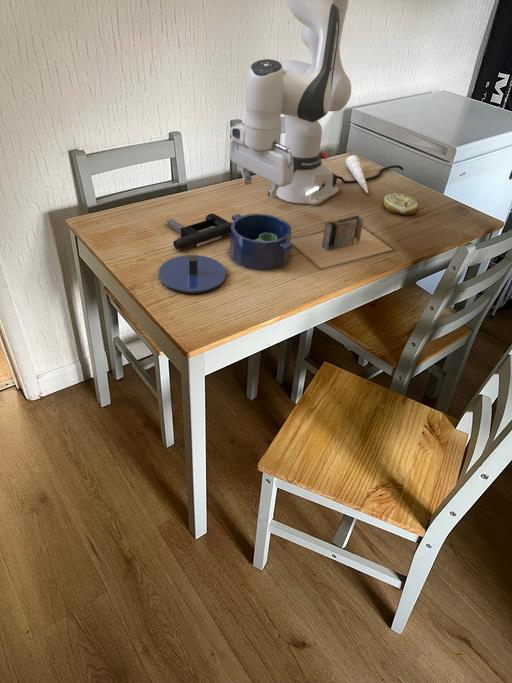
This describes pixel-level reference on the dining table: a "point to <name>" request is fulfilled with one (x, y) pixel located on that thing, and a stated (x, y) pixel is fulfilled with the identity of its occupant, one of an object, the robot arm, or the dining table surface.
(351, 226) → the ruin model on sheet
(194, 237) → the door handle
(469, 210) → the dining table surface
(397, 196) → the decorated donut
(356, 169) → the unicorn horn
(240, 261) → the pot
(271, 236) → the scoop
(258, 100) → the robot arm
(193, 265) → the lid
